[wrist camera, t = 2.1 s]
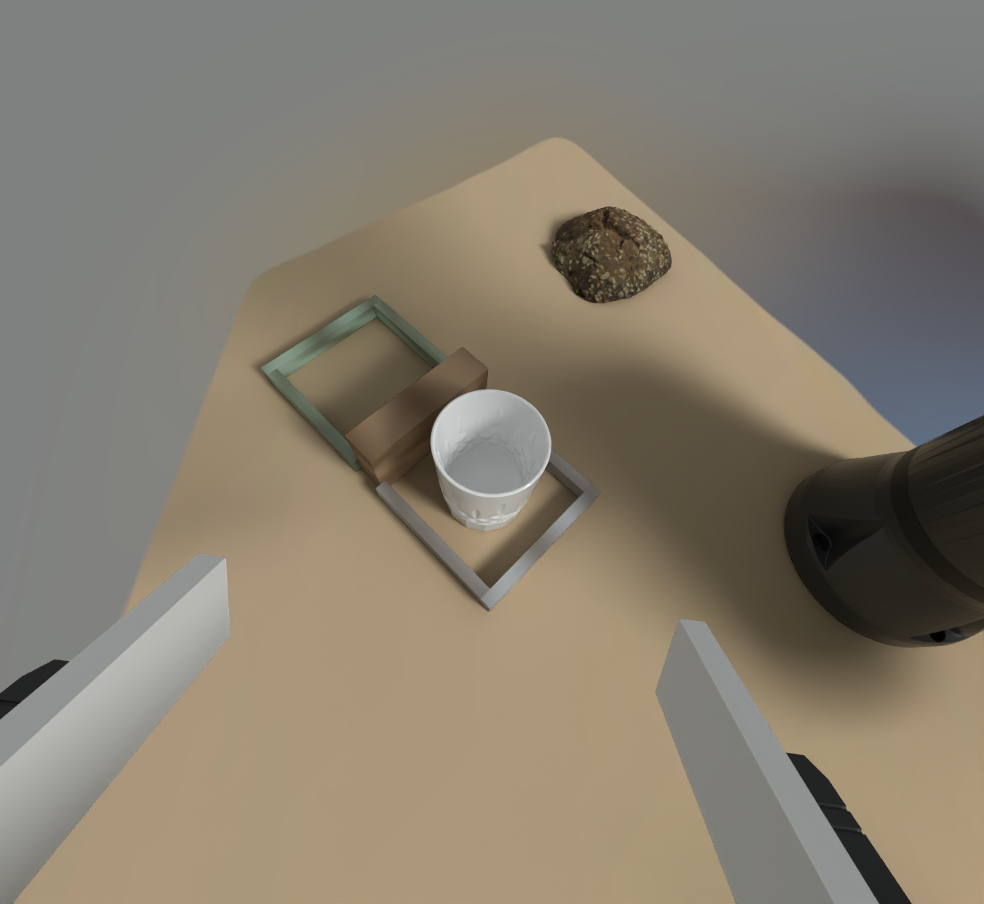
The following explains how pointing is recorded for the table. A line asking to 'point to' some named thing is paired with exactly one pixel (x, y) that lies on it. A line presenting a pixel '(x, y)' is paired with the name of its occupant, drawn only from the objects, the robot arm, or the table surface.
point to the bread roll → (610, 254)
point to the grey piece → (416, 435)
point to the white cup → (489, 456)
